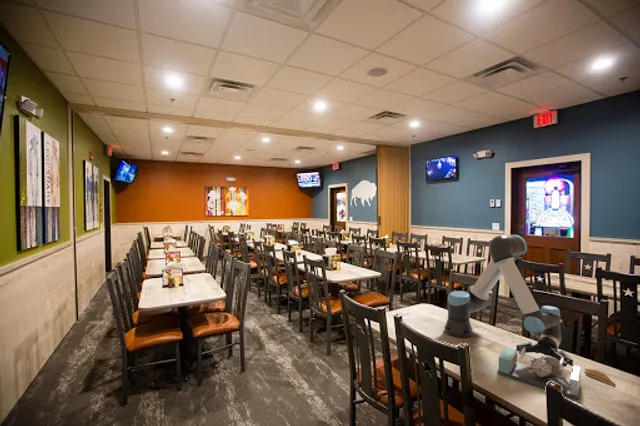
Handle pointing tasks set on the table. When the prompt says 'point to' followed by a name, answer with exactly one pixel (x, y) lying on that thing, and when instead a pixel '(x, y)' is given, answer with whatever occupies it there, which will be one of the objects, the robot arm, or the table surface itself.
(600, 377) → the shard
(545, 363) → the game die
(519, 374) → the vise bed
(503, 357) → the block
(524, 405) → the table surface
